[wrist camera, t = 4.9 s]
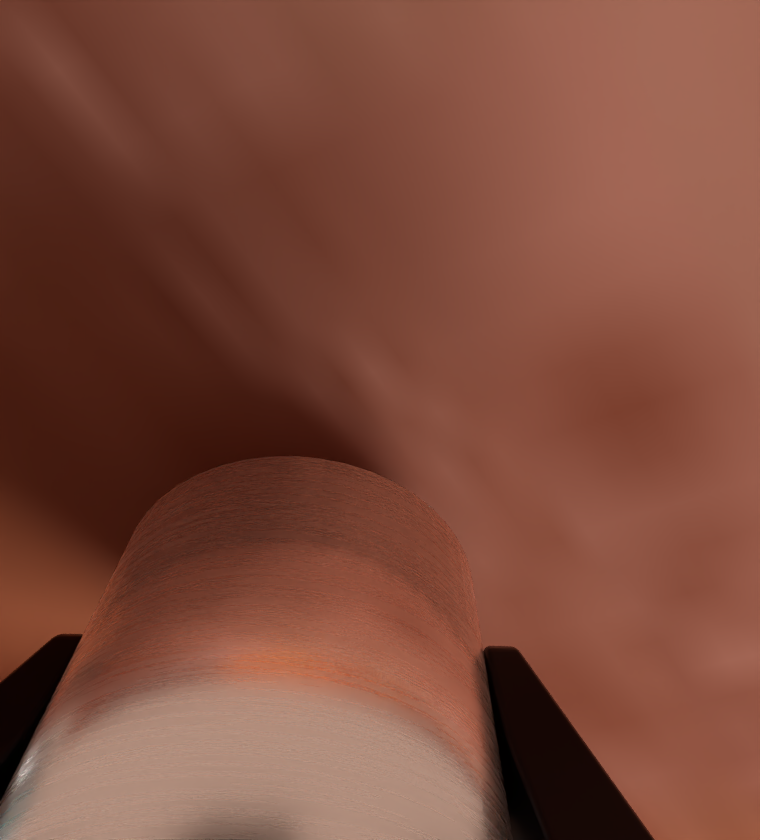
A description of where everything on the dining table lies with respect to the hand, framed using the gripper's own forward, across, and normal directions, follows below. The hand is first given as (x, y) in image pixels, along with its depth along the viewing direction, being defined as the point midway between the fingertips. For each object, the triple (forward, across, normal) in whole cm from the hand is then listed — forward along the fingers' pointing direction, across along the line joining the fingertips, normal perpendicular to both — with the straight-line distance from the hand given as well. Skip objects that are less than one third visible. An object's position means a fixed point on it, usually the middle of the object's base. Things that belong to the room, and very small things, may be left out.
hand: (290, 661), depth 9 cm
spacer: (+1, 0, 0) cm, 1 cm away
